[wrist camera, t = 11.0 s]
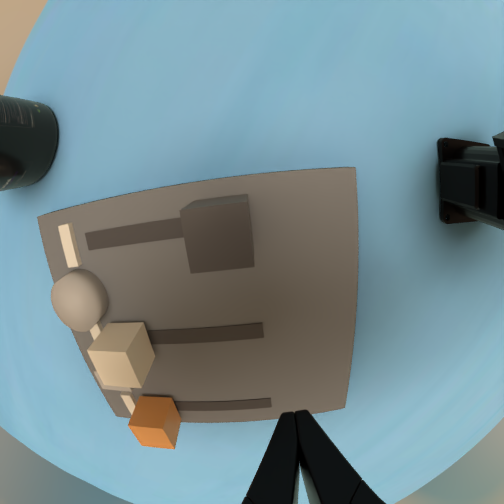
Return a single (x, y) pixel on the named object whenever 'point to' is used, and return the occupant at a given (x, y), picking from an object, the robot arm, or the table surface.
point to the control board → (219, 294)
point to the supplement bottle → (25, 141)
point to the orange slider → (155, 422)
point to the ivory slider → (122, 354)
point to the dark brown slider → (218, 234)
